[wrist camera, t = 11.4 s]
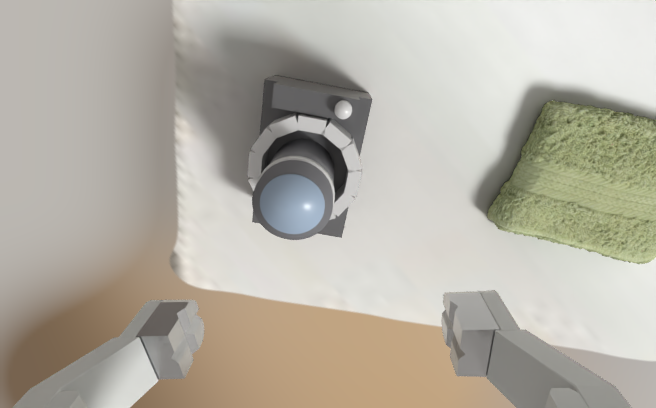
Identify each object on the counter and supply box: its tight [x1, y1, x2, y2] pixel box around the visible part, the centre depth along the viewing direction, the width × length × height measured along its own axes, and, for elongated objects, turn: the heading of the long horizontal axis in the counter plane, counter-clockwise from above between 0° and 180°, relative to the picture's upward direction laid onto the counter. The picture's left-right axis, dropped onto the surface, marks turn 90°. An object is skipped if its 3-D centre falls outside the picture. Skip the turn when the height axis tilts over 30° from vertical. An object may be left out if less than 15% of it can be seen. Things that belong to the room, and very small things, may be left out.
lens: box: [252, 139, 335, 240], centre depth 24 cm, size 5×5×7 cm
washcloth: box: [487, 100, 656, 264], centre depth 30 cm, size 13×18×3 cm
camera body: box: [247, 75, 372, 238], centre depth 28 cm, size 12×8×6 cm
